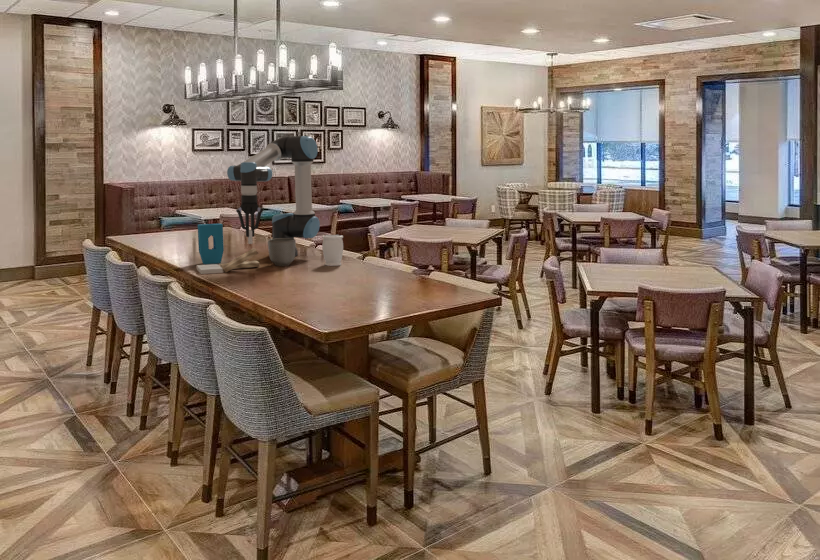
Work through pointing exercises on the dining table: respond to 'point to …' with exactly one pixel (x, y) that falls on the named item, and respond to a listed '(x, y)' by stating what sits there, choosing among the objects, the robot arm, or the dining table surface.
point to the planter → (282, 251)
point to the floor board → (209, 269)
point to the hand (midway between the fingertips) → (250, 243)
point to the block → (203, 234)
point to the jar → (332, 249)
